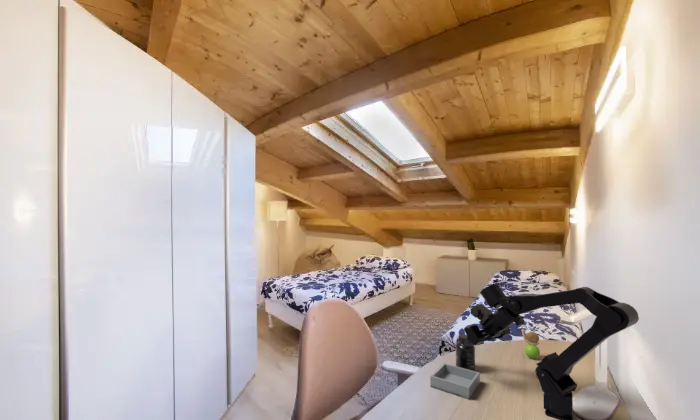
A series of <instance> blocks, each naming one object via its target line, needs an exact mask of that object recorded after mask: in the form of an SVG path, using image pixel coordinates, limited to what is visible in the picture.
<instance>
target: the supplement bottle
mask: <svg viewBox="0 0 700 420" xmlns="http://www.w3.org/2000/svg"><path fill="white" fill-rule="evenodd" d="M457 337H458V339H457V340H458V341H457V342H456V344H455V366H457V367H461V368H464V369H468V370H471V371H475V372H476V347H475V346H476V345H472V346H465V345H464V342H465V340H466V338H467V334H466V333H465V334H464V333H463V334H459V335H457Z"/></svg>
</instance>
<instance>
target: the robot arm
mask: <svg viewBox="0 0 700 420" xmlns="http://www.w3.org/2000/svg"><path fill="white" fill-rule="evenodd" d="M480 296H481V297H482V298H483V299H484V301H485V302H486V303H487V305H488V306H489V308H490V309H493V308H494V309H496V311H495V312H494V313H493V311H491V310H490V309H489V308H488V307H487V306H485V305H484V304H482V303H480V304H475V305H474V306H472V307H471V308H470V315H471V316H472V317H474V318H477V320H479V321H478V323H479V324H480V326H481V327H482V329H481V328H479V326H478V325H477V324H475V323H471V324H467V325H466V326H465V327H464V328H463V332H464V333H465V334H466V335H467V338H466V340H465V342H464V345H465V346H472V345H474V346H478V345H481V344H482V343H484V342H487V341H491V340H492V341H493V340H498V339H501V338H504V337H507V336H509V335H510V334H511V328H510V326H511V325H513V324H515V325H516V326H518V327H519V326H522V325H525V320H524V318H525V317H524V316H523V314H526V313H531V312H534V311H537V310H539V309H543V308H548V307H550V308H551V307H557V306H558V307H559V306H566V305H574V304H580V305H582V306H583V307H584V308H586V310H587V311H589V313H591V314H592V315H593V316H595V319H594V320H593V323H592V325H591V326H590V327H589V328H588V329H587V330H586V331H585V332H584V333H583V334H582V335H580V336H579V337H578V338H577V339H576V340H575V341H573V342H572V343H571V344H570V345H569V346H568V347H567V348H566V349H564V350H562V352H561V353H560V354H558V353H557V352H556V351H555V352H552V353H550V354H547V355H545V356H544V357H543V358H542V359H541V361H539V362H537V363H536V368H535V370H534V371H535V375H536V378H537V380H538V381H539V384H540V387H541V391H542V392H543V409H544V410H545V411H544V414H545V415H547V416H549V417H552V418H555V419H559V420H574V415H575V411H574V402H573V401H574V399H573V398H574V397H573V394H574V393H573V392H576V389H577V387H578V385H577V382H575V380H574V379H573V378H572V377H571V376H570V375H571V373H572V372H573V371H572V370H573V369H574V367H575V365H576V364H578V363H579V362H580V361H581V360H583V359H584V358H585V357H586V356H587V355H588V354H590V353H592V351H594V350H595V349H596V348H597V347H599V346H600V345H601V344H602V343H604V342H605V341H606V340H607V339H609V338H610V337H612V336H613V335H615V334H618V333H620V332H621V331H624V330H626V329H627V328H630V327H632V326H633V325H636V324H637V323H638V322H639V319H640V317H639V313H638V311H637V309H636V308H634V306H632V305H631V304H628V303H627V302H619V301H618V300H616V299H614V298H612V297H610V296H607V295H605V294H603V293H600V292H597V291H595V289H593V288H590V287H588V286H582V287H578V288H577V287H576V288H574V289H569V290H561V291H555V292H550V293H549V292H547V293H543V294H540V293H519V294H516V295H508V296H507V295H506V294H505V293H504V291H503V290H502V289H501V288H500V285H499V284H498V283H497V282H495V283H491V285H489V286H487V287H485V288H482V289H481V291H480Z"/></svg>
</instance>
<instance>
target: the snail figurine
mask: <svg viewBox="0 0 700 420" xmlns="http://www.w3.org/2000/svg"><path fill="white" fill-rule="evenodd" d="M523 327H524V326H522V325H521V333H522V338H523V340H524V342H525V343H527V344H526V345H525V346H524V353H525V355H526V356H527V357H528V358H530V359H532V360H533V359H534V360H535V359H538V358H539V357H540V356H541V351H540V349H539V347H538V345H539V344H540V342H539V341H540V336H539V335H538V333H536V332H534V331H529V332H527V333H526V329H524V328H523Z"/></svg>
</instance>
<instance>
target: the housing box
mask: <svg viewBox="0 0 700 420" xmlns="http://www.w3.org/2000/svg"><path fill="white" fill-rule="evenodd" d="M480 383H481V373H480V372H479V371H476V370H475V371H471V370H468V369H464V368H461V367H457V366H456V365H453V364H449V363H446V362H444V363H442V365H440V367H438V369H436V370H435V371H434V372H433V373H432V374H431V375H430V387H431V388H433V389H435V390H439V391H442V392H444V393H448V394H451V395H454V396H457V397H460V398H462V399H466V400H470V399H471V397H472V396H473V394H474V393H475V392H476V390H477V389H478V387H479V385H480Z"/></svg>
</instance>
